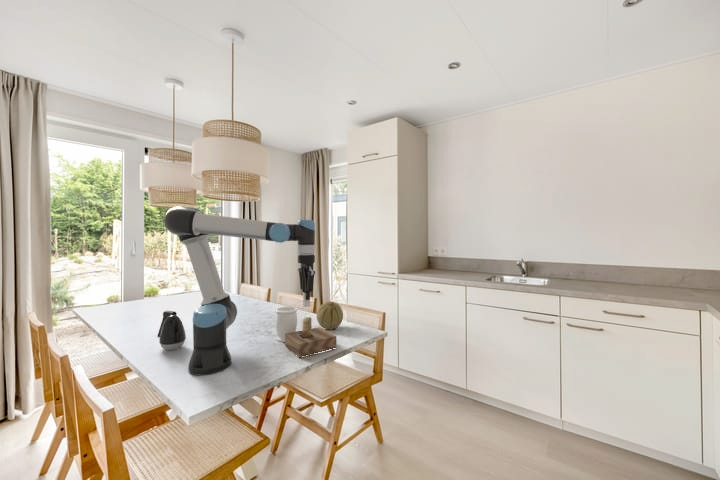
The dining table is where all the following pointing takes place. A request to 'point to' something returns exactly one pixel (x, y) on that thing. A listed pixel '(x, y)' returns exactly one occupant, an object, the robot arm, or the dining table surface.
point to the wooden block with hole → (310, 342)
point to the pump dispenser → (172, 333)
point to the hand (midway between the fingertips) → (306, 306)
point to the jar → (285, 321)
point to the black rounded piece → (165, 315)
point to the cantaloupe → (329, 315)
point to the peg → (306, 327)
